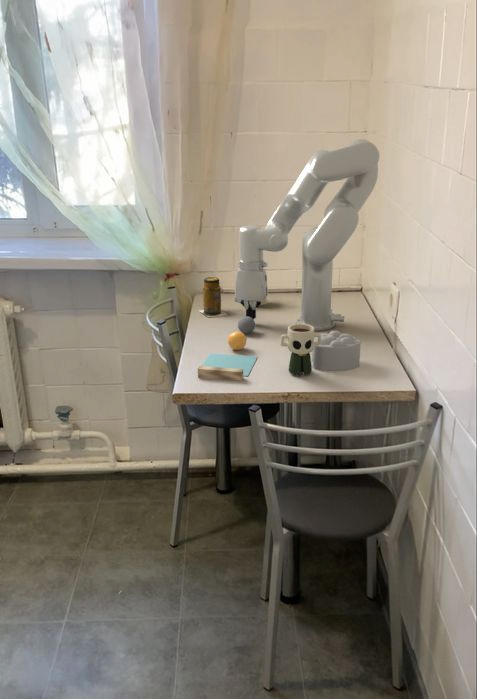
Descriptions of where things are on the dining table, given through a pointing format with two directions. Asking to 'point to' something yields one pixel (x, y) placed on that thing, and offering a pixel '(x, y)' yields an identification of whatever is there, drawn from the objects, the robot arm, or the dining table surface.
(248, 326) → the gray ball
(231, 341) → the orange ball
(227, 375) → the wall
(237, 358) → the teal mark
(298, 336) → the character mug
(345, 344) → the lumpy-topped squat cylinder
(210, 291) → the condiment
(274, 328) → the dining table surface
